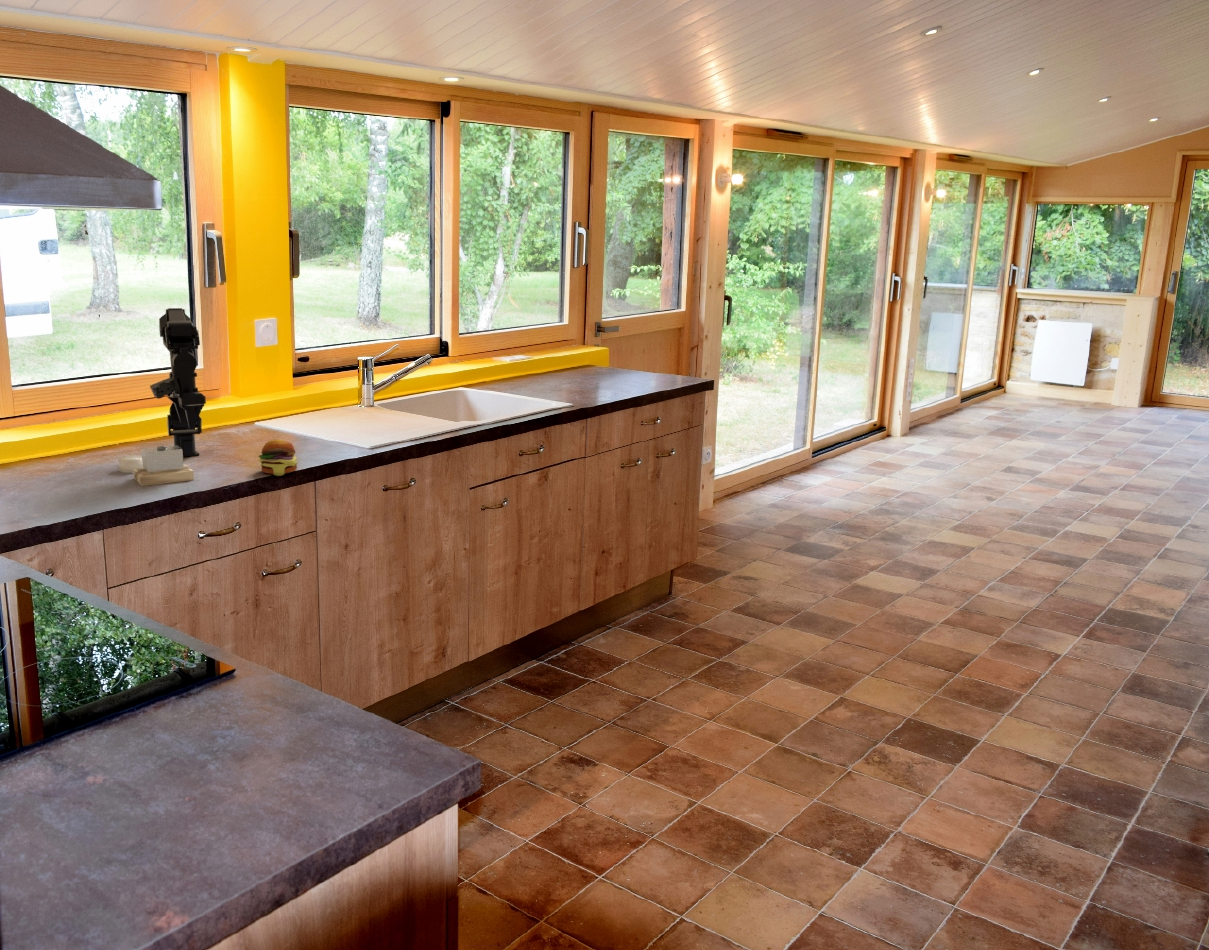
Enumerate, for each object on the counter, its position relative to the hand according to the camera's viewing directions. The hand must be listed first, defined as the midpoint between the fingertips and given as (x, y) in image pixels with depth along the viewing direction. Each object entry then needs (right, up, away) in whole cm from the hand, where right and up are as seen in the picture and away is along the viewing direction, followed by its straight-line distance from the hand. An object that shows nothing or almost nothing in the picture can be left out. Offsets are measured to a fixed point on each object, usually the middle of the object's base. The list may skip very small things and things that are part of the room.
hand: (187, 425), depth 293 cm
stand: (-3, -15, -9) cm, 17 cm away
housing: (-2, -12, -10) cm, 16 cm away
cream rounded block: (-15, -12, -1) cm, 19 cm away
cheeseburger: (+24, -13, +3) cm, 28 cm away
